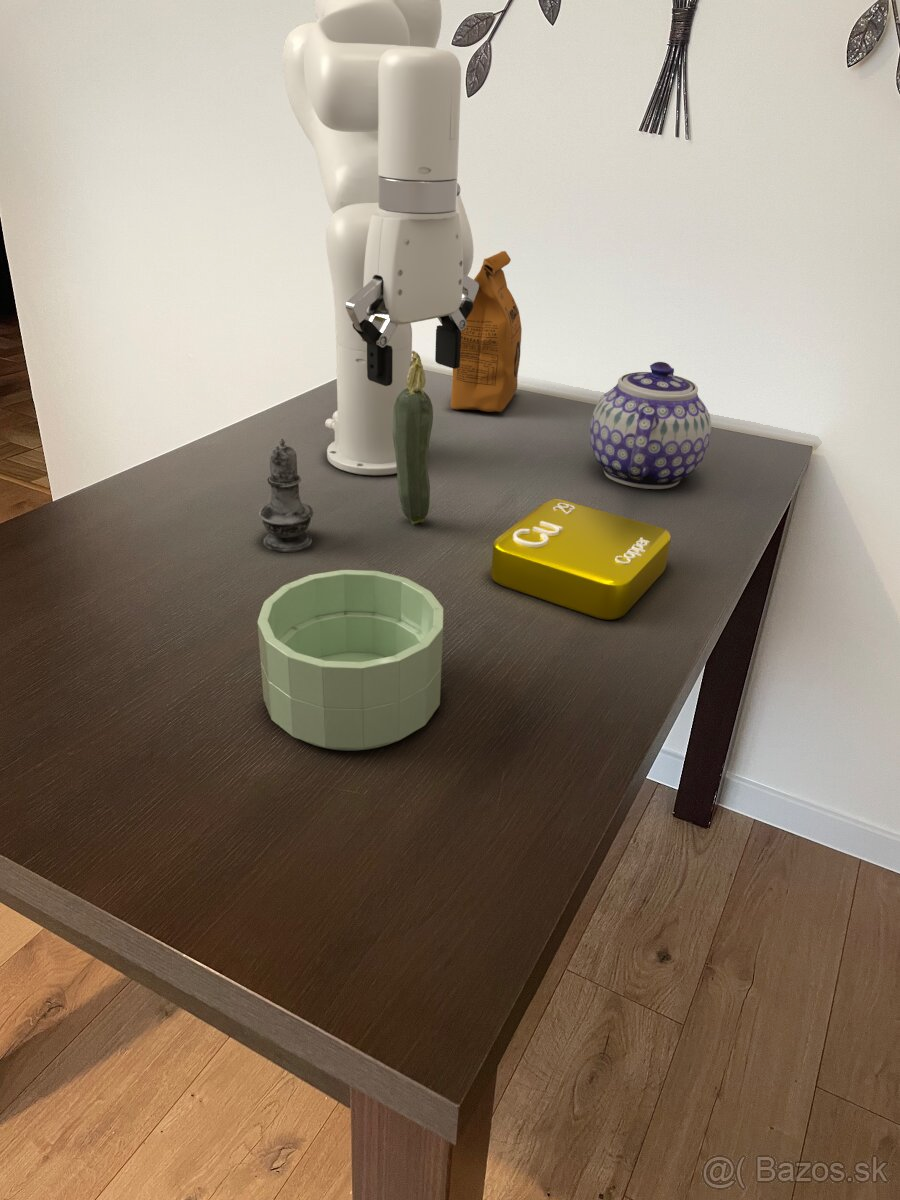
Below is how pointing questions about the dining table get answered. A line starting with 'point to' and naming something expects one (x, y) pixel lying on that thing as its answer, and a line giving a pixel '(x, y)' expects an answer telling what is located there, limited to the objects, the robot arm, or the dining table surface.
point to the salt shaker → (285, 504)
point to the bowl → (351, 658)
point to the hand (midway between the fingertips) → (414, 373)
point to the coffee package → (489, 344)
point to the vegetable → (413, 443)
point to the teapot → (650, 429)
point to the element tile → (581, 558)
